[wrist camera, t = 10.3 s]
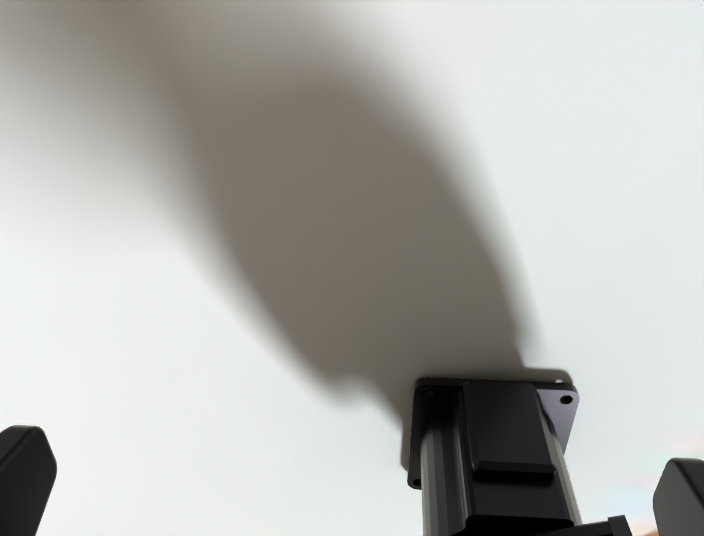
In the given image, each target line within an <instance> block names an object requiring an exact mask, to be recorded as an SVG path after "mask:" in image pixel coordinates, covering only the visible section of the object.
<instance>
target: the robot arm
mask: <svg viewBox="0 0 704 536" xmlns="http://www.w3.org/2000/svg"><path fill="white" fill-rule="evenodd" d="M423 389H430V390H429V391H423ZM565 395H569V396H567V397H562V396H565ZM578 403H579V395H578V392H577V389H576V388H575V386H573V385H571V384H567V383H545V382H522V381H499V380H476V379H453V378H430V377H426V378H421V379H418V380H417V381H416V382H415V384H414V388H413V402H412V416H411V430H410V444H409V457H408V471H407V482H408V485H409V486H410V487H411V488H413V489H418V490H422V512H423V536H632V533H631V531H630V528H629V526H628V523H627V520H626V518H625V515H620V516H614V517H608V521H602V522H596V523H589V524H583V523H582V520H581V516H580V513H579V509H578V506H577V502H576V498H575V495H574V491H573V488H572V484H571V481H570V477H569V474H568V470H567V467H566V463H565V460H564V453H565V449H566V446H567V442H568V439H569V435H570V432H571V428H572V424H573V421H574V417H575V414H576V410H577V407H578ZM56 474H57V463H56V459H55V457H54V455H53V452H52V450H51V447H50V445H49V442H48V440H47V437H46V435H45V432H44V431H43V430H42V429H41V428H40V427H38V426H25V425H14V426H11V427H8V428H7V429H5V430H3V431H2V432H1V433H0V536H36V533H37V530H38V527H39V524H40V521H41V519H42V516H43V513H44V510H45V507H46V504H47V502H48V499H49V496H50V493H51V490H52V487H53V485H54V482H55V479H56ZM653 510H654V515H655V519H656V524H657V528H658V532H659V536H704V461H703V460H700V459H694V458H672V459H670V460H669V461H668V462H667V464H666V466H665V469H664V471H663V473H662V476H661V478H660V480H659V483H658V485H657V488H656V490H655V492H654V496H653Z"/></svg>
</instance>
